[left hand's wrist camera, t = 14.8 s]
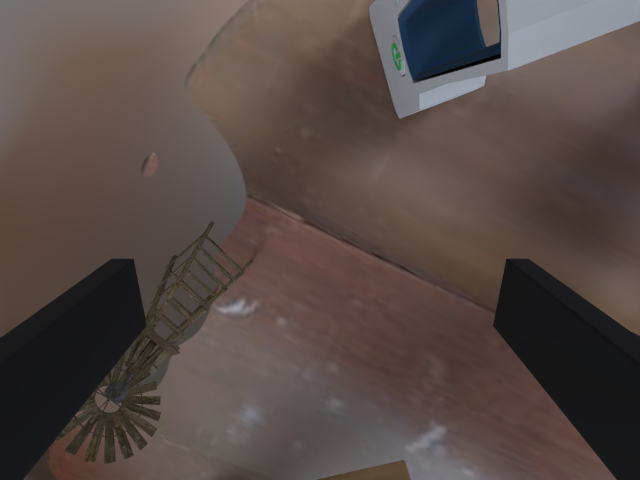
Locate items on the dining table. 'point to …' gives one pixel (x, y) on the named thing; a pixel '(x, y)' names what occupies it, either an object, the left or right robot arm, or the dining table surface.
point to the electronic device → (478, 41)
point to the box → (377, 473)
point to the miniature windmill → (144, 365)
